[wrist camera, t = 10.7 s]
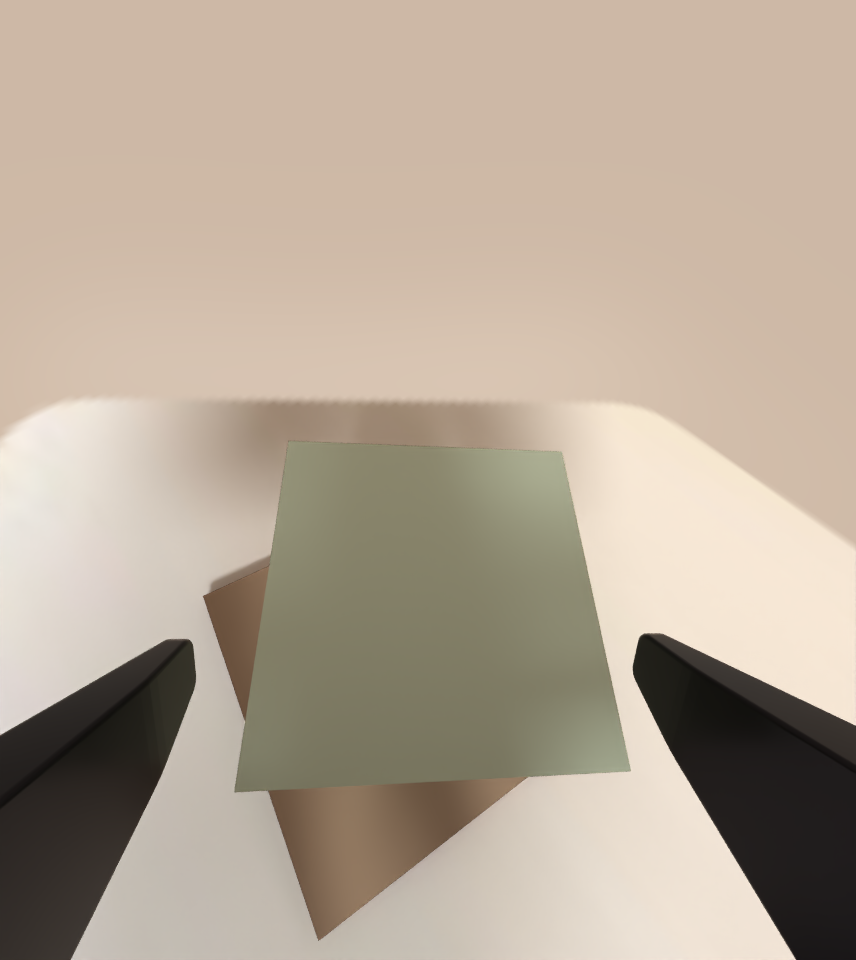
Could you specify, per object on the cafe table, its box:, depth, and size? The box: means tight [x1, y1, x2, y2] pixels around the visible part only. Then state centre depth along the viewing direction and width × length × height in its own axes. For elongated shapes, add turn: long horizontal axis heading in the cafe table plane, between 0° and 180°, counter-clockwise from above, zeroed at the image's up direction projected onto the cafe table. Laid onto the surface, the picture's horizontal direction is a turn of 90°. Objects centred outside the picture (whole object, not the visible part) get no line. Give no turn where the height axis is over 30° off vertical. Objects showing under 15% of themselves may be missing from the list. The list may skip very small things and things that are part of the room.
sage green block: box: [234, 441, 631, 792], centre depth 13 cm, size 6×6×11 cm
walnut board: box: [203, 566, 527, 941], centre depth 18 cm, size 12×12×1 cm
